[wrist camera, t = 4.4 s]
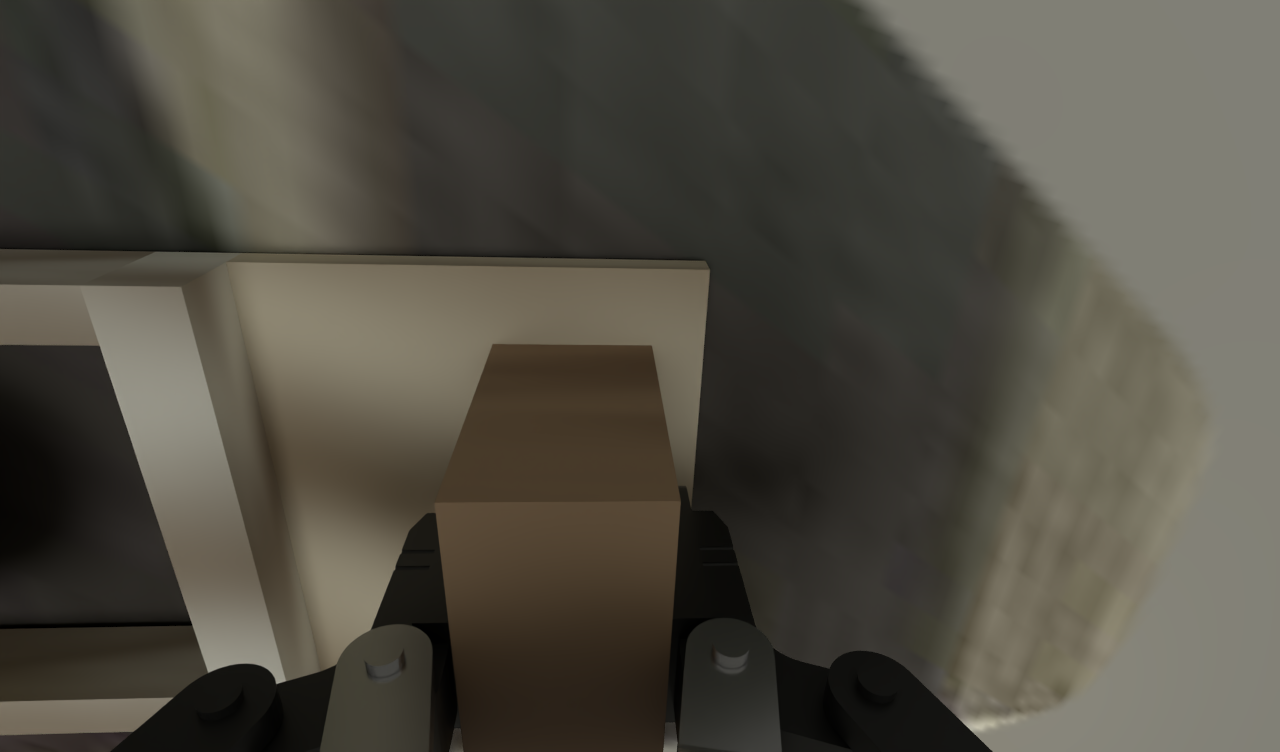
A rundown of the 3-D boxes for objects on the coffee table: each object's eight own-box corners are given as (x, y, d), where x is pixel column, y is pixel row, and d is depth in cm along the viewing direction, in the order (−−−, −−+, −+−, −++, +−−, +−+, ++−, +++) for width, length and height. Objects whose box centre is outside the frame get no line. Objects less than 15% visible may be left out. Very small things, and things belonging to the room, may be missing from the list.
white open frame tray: (-422, 241, 12) (-1206, 385, 7) (705, 260, 13) (774, 393, 8) (-152, 664, 16) (-502, 947, 11) (676, 646, 17) (709, 895, 12)
